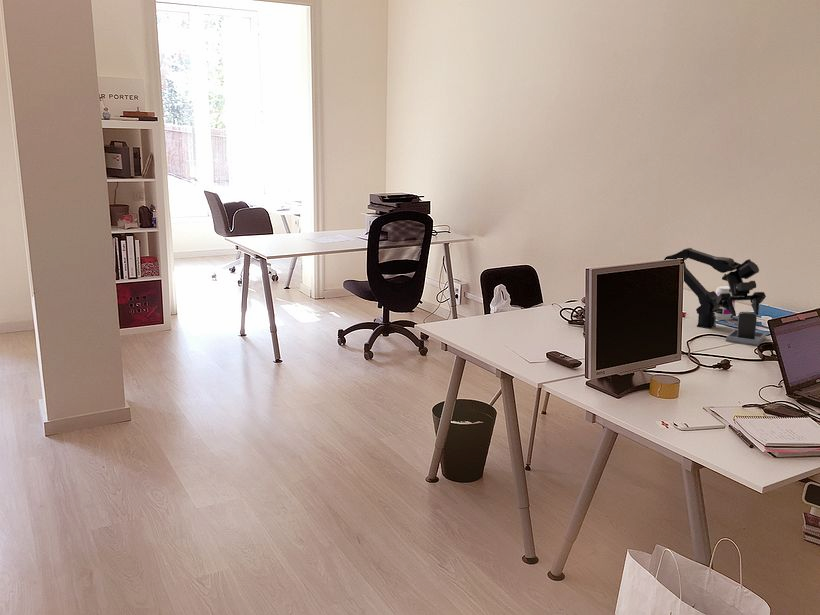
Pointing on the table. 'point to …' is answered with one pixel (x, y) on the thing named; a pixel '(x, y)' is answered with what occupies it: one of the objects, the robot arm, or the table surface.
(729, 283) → the robot arm
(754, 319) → the battery
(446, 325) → the table surface
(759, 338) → the tray
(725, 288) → the supplement can
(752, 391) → the table surface
